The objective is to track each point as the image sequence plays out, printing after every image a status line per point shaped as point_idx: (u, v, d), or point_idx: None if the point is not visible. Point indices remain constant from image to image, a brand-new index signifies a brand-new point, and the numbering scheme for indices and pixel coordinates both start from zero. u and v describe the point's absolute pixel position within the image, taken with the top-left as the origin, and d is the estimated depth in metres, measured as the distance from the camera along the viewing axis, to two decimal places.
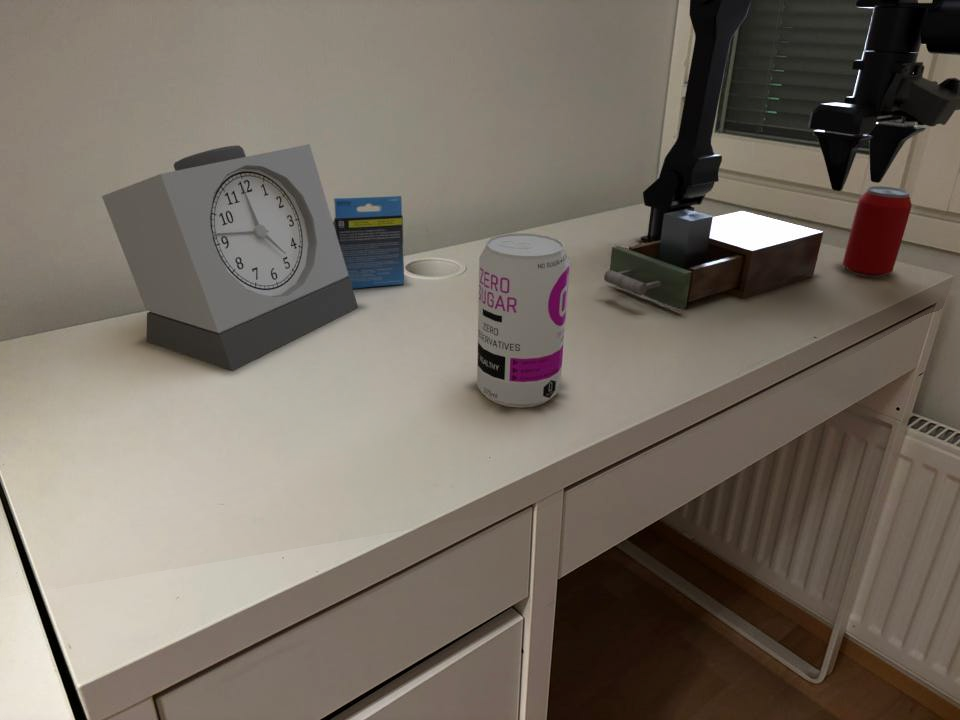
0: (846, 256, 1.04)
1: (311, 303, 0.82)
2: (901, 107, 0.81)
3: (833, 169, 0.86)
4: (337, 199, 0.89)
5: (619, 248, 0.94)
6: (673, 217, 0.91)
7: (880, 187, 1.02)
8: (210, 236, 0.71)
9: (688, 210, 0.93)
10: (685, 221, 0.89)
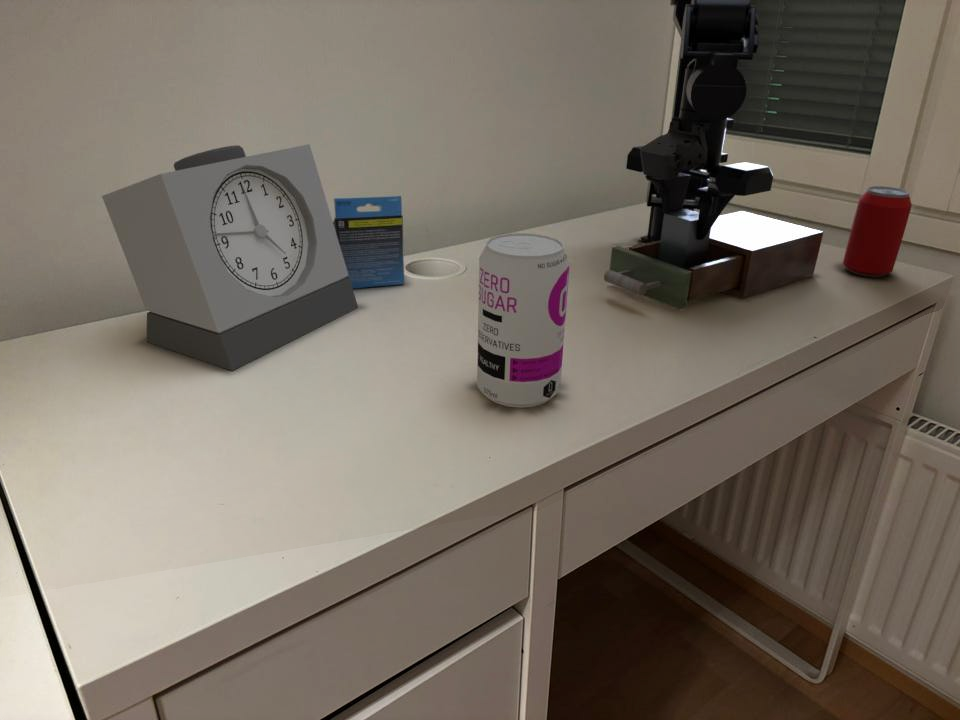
0: (846, 256, 1.04)
1: (311, 303, 0.82)
2: None
3: None
4: (337, 199, 0.89)
5: (619, 248, 0.94)
6: (673, 217, 0.91)
7: (880, 187, 1.02)
8: (210, 236, 0.71)
9: (688, 210, 0.93)
10: (685, 221, 0.89)
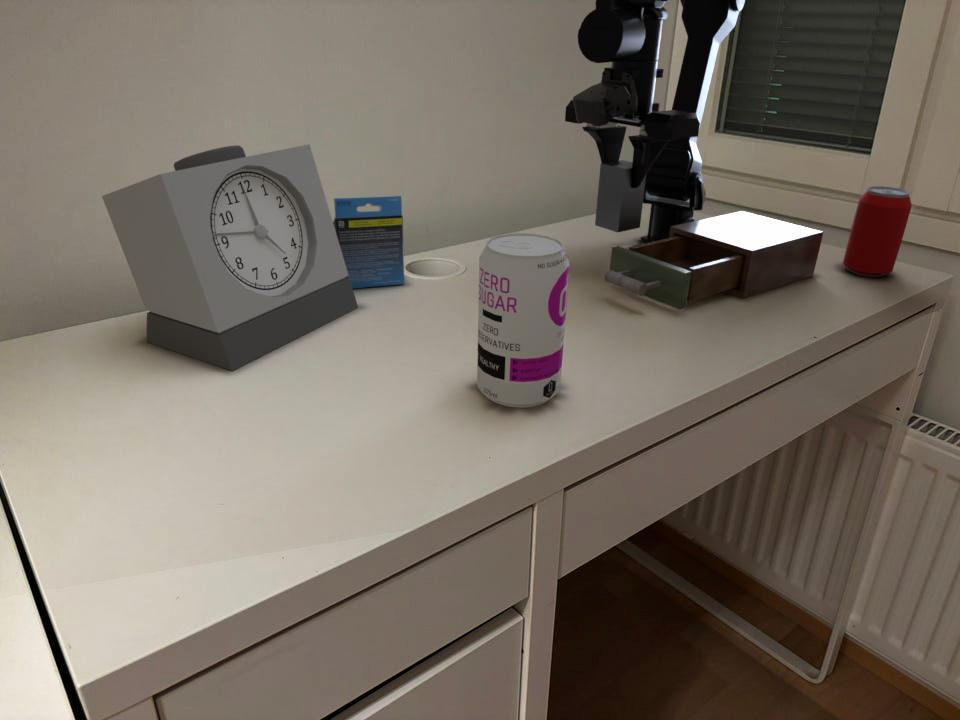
0: (846, 256, 1.04)
1: (311, 303, 0.82)
2: None
3: None
4: (337, 199, 0.89)
5: (619, 248, 0.94)
6: (609, 166, 0.94)
7: (880, 187, 1.02)
8: (210, 236, 0.71)
9: (625, 161, 0.97)
10: (620, 169, 0.92)
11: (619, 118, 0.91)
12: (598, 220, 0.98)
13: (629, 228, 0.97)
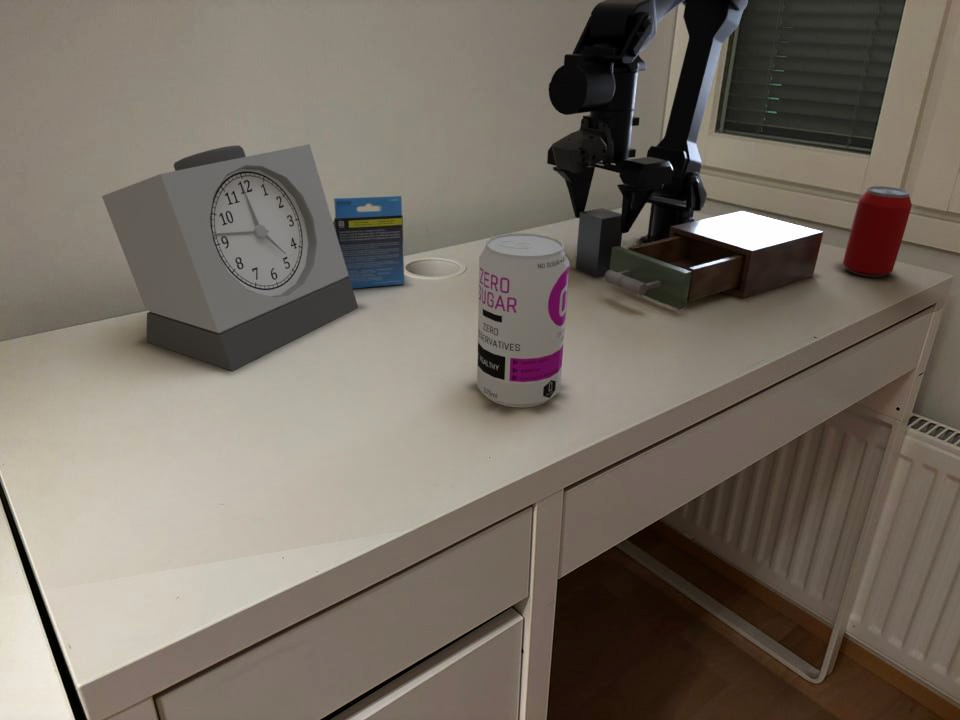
0: (846, 256, 1.04)
1: (311, 303, 0.82)
2: None
3: None
4: (337, 199, 0.89)
5: (619, 248, 0.94)
6: (587, 215, 0.98)
7: (880, 187, 1.02)
8: (210, 236, 0.71)
9: (603, 209, 1.01)
10: (597, 219, 0.97)
11: None
12: (578, 264, 1.02)
13: None
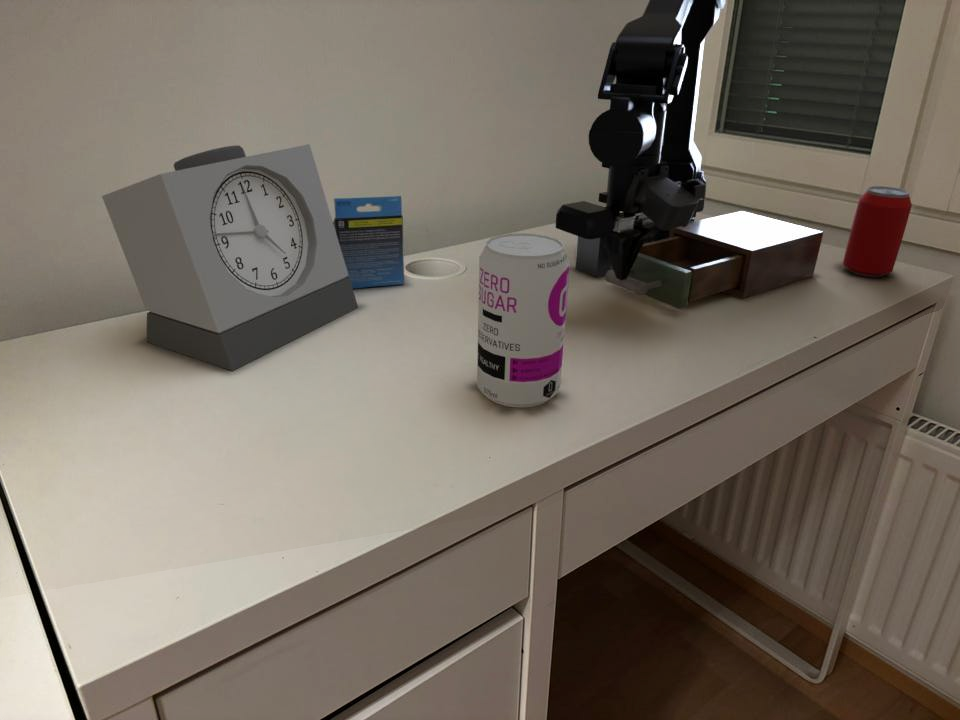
0: (846, 256, 1.04)
1: (311, 303, 0.82)
2: (641, 209, 0.80)
3: (613, 259, 0.87)
4: (337, 199, 0.89)
5: None
6: None
7: (880, 187, 1.02)
8: (210, 236, 0.71)
9: None
10: None
11: None
12: (578, 264, 1.02)
13: None
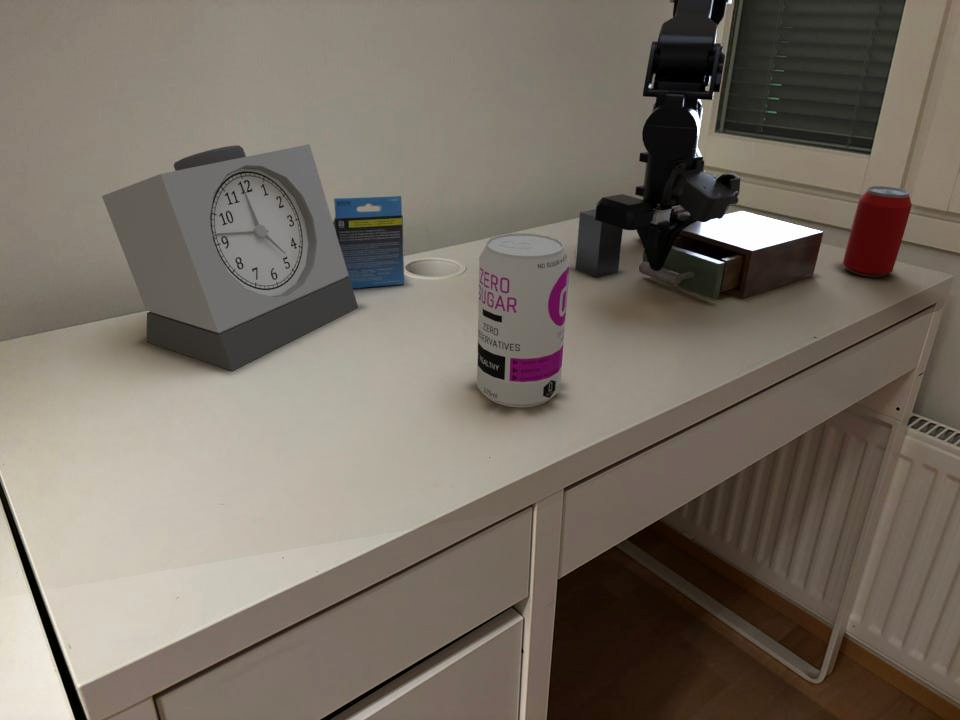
0: (846, 256, 1.04)
1: (311, 303, 0.82)
2: (678, 202, 0.83)
3: (649, 251, 0.90)
4: (337, 199, 0.89)
5: None
6: (587, 215, 0.98)
7: (880, 187, 1.02)
8: (210, 236, 0.71)
9: None
10: None
11: None
12: (578, 264, 1.02)
13: (607, 273, 1.01)
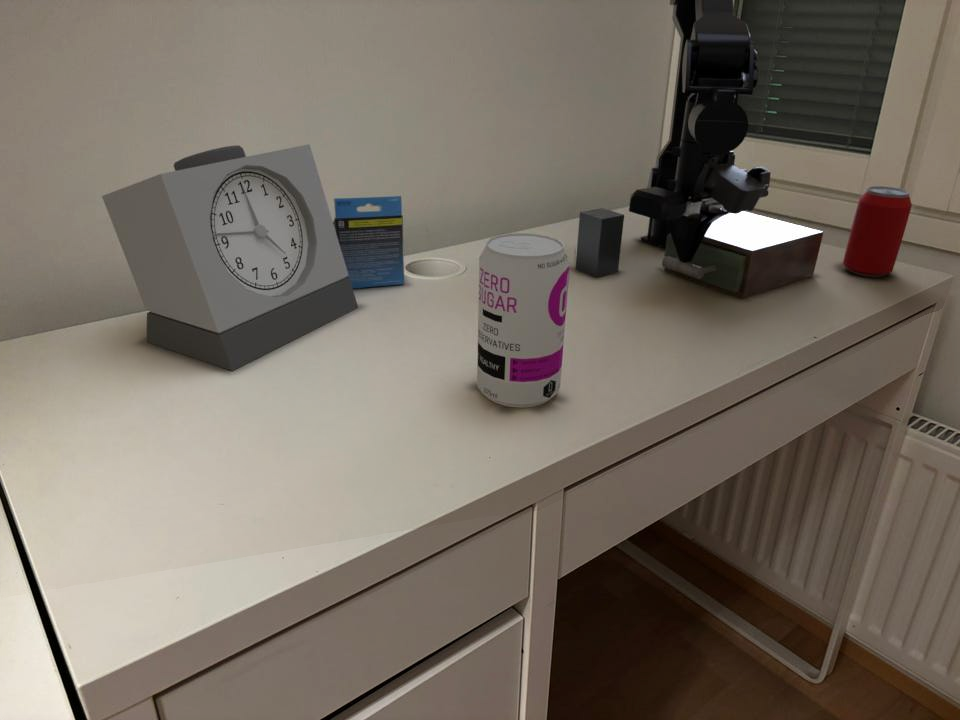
0: (846, 256, 1.04)
1: (311, 303, 0.82)
2: (710, 194, 0.86)
3: (678, 243, 0.93)
4: (337, 199, 0.89)
5: None
6: (587, 215, 0.98)
7: (880, 187, 1.02)
8: (210, 236, 0.71)
9: (603, 209, 1.01)
10: (597, 219, 0.97)
11: None
12: (578, 264, 1.02)
13: (607, 273, 1.01)
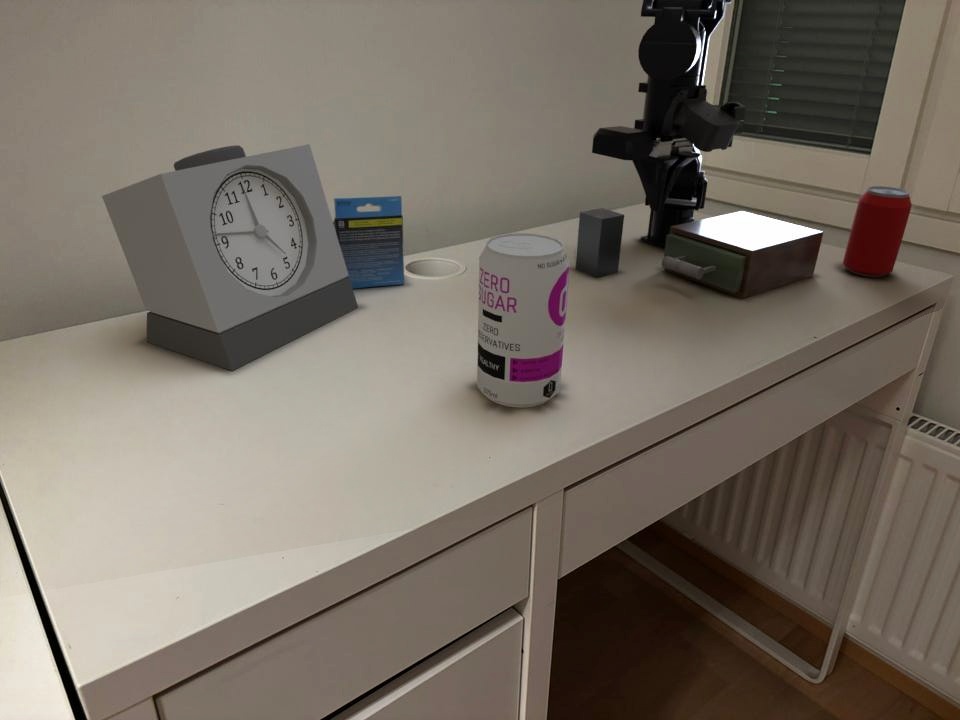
0: (846, 256, 1.04)
1: (311, 303, 0.82)
2: (679, 132, 0.79)
3: (648, 189, 0.86)
4: (337, 199, 0.89)
5: (674, 236, 1.00)
6: (587, 215, 0.98)
7: (880, 187, 1.02)
8: (210, 236, 0.71)
9: (603, 209, 1.01)
10: (597, 219, 0.97)
11: None
12: (578, 264, 1.02)
13: (607, 273, 1.01)
